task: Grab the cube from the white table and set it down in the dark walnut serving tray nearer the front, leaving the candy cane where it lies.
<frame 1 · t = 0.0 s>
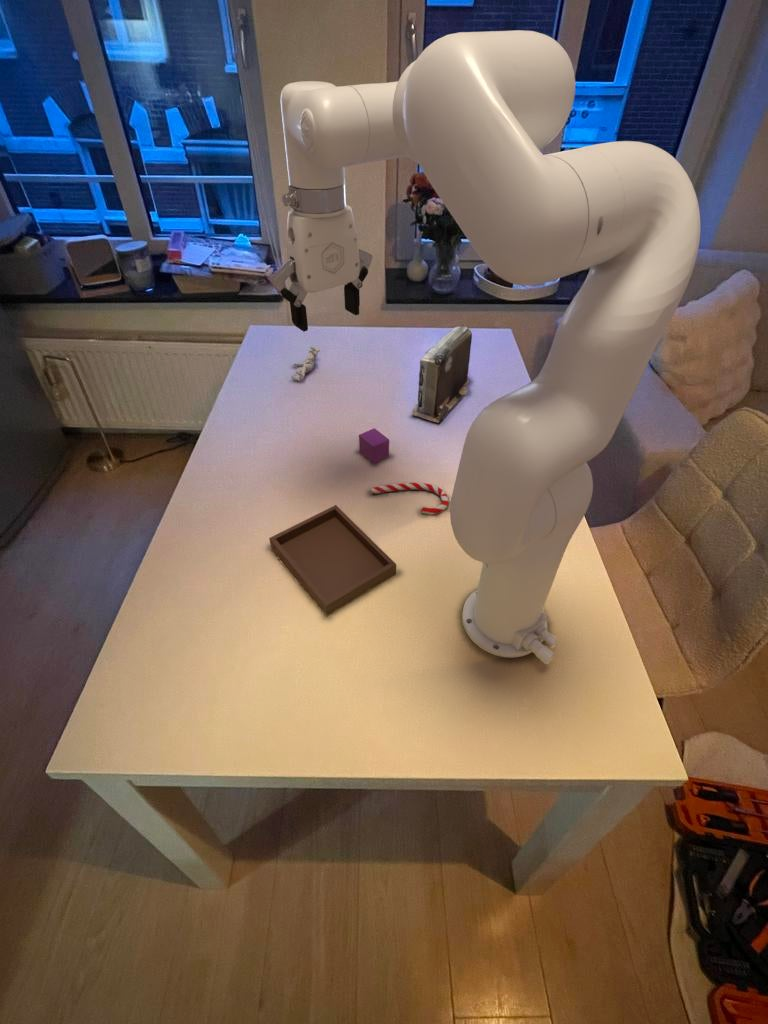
hand: (327, 320, 84), 31 cm above the table, tool pointing down, fingers open, 9 cm apart
cube: (374, 454, 109), on the table
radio: (441, 397, 125), on the table
tray: (332, 560, 89), on the table
candy cane: (408, 499, 100), on the table
soldier figure: (307, 371, 134), on the table
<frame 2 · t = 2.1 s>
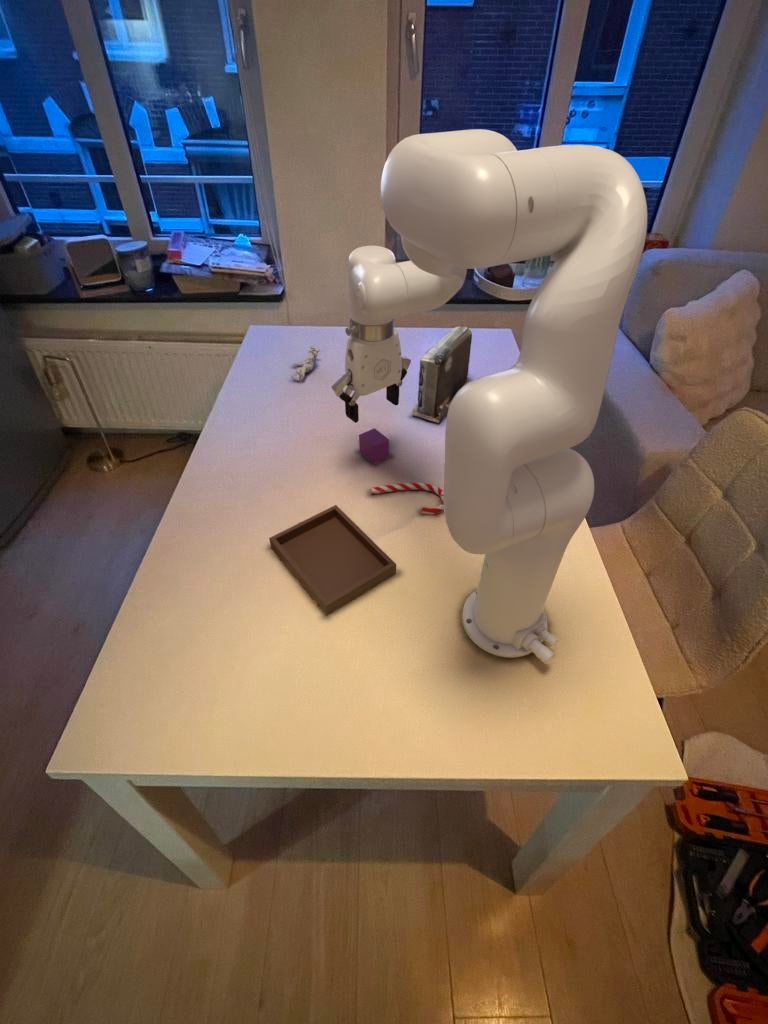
hand: (372, 410, 102), 11 cm above the table, tool pointing down, fingers open, 9 cm apart
nothing on the table moved.
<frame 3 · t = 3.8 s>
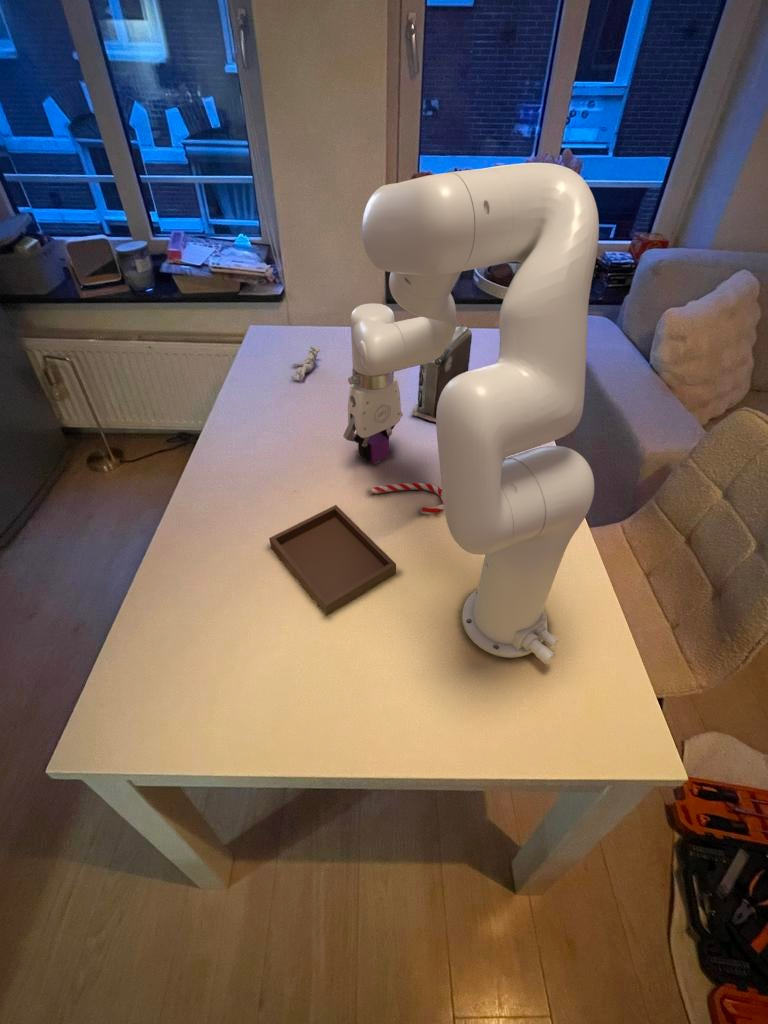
hand: (374, 453, 109), 0 cm above the table, tool pointing down, fingers closed on cube, 4 cm apart
cube: (374, 454, 109), on the table, touching gripper
everything else where it was.
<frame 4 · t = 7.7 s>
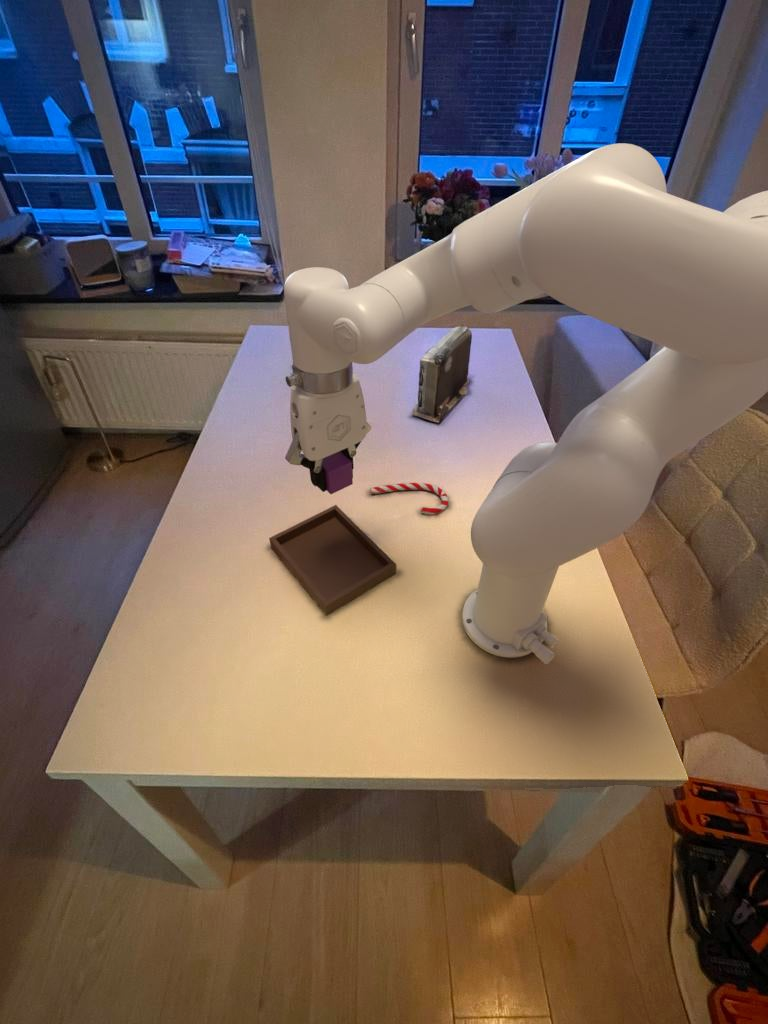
hand: (332, 479, 80), 15 cm above the table, tool pointing down, fingers closed on cube, 4 cm apart
cube: (332, 480, 81), point 15 cm above the table, touching gripper
everything else where it was.
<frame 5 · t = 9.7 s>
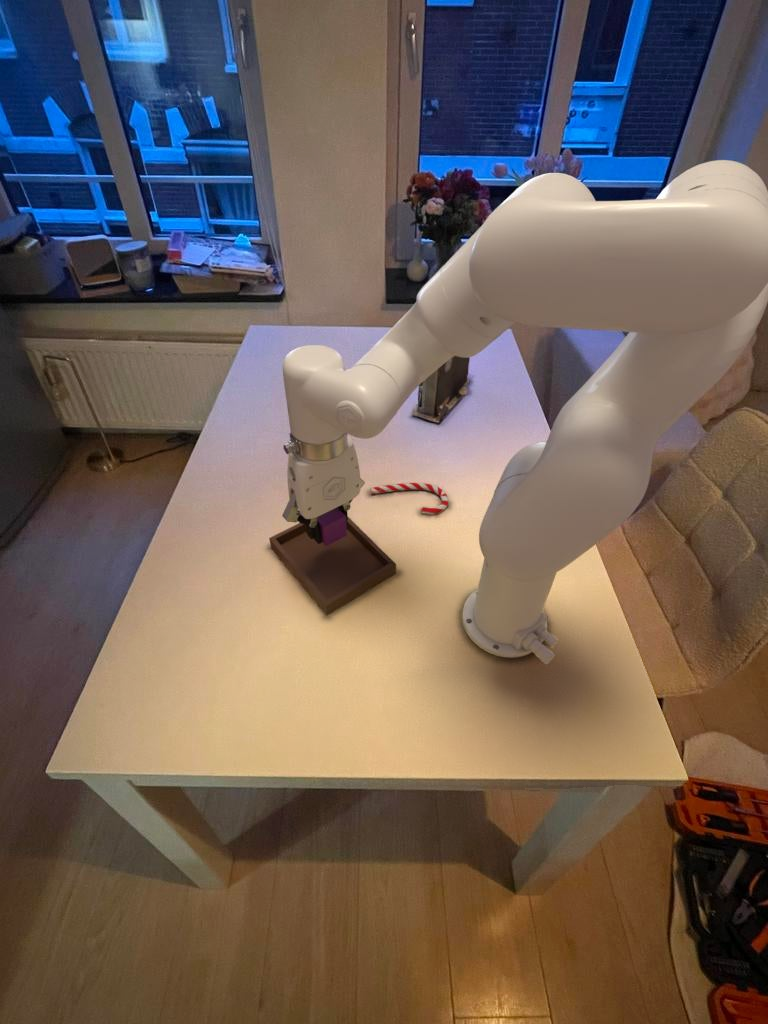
hand: (327, 530, 84), 7 cm above the table, tool pointing down, fingers closed on cube, 4 cm apart
cube: (327, 531, 84), point 7 cm above the table, touching gripper
everything else where it was.
when the fingers open (1 cm above the table, at t = 11.5 s): cube stays where it is, resting on tray.
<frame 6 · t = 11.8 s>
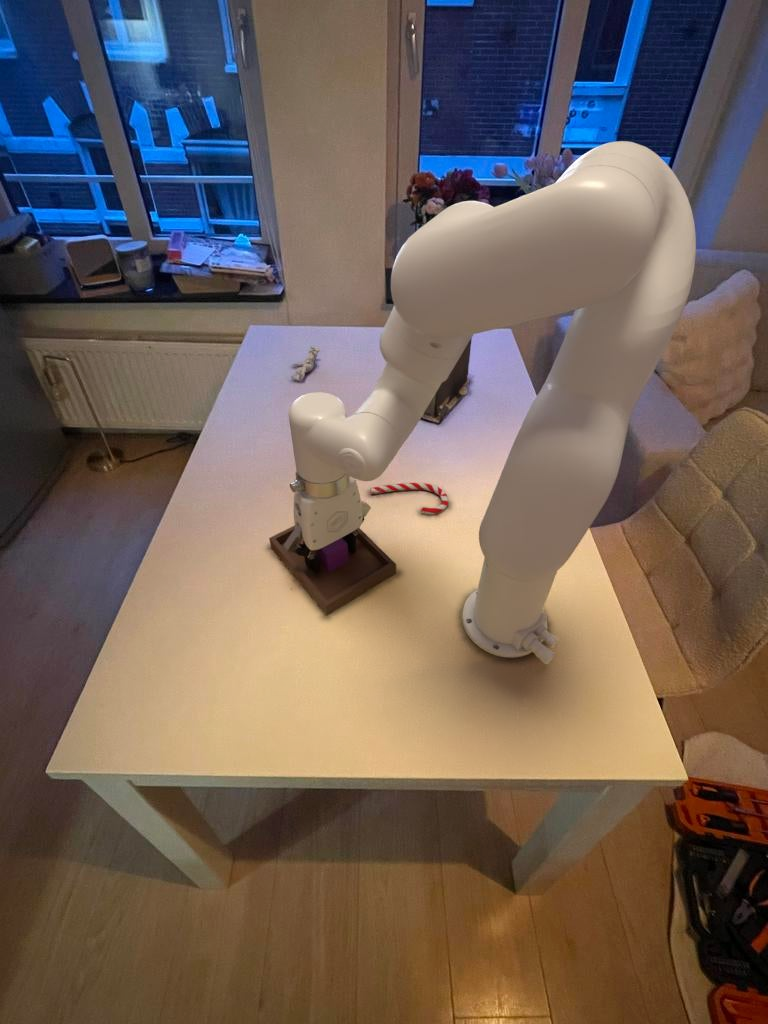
hand: (331, 557, 88), 1 cm above the table, tool pointing down, fingers open, 6 cm apart
cube: (330, 558, 88), resting on tray
everything else where it was.
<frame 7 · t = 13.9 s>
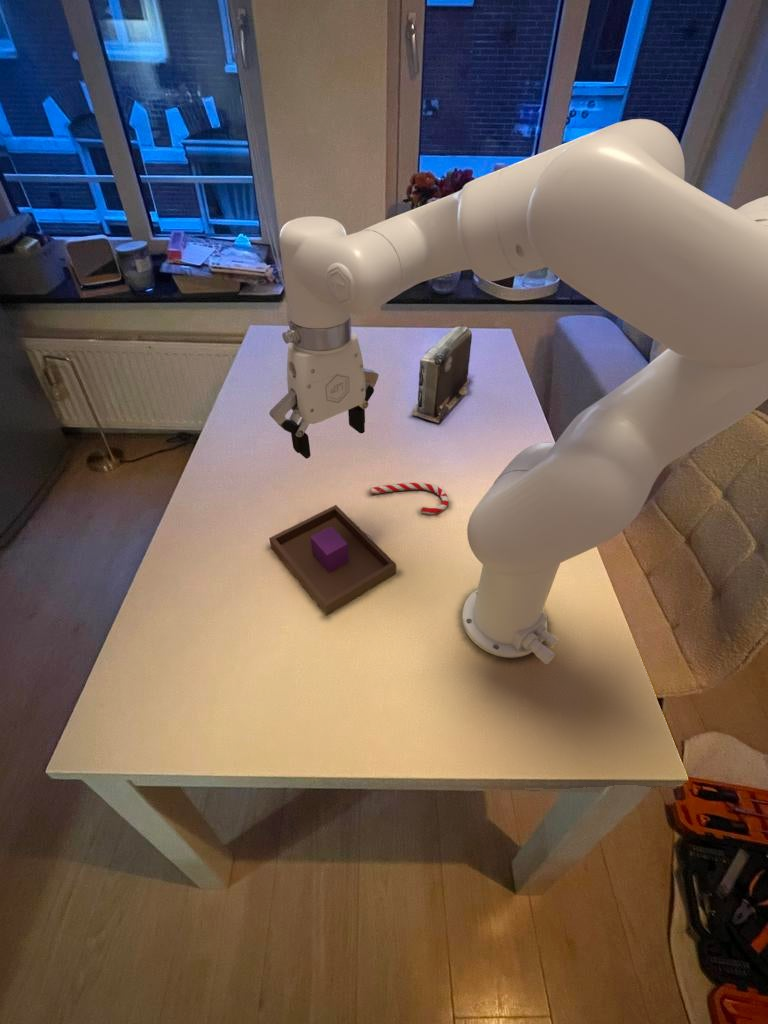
hand: (330, 440, 78), 21 cm above the table, tool pointing down, fingers open, 9 cm apart
nothing on the table moved.
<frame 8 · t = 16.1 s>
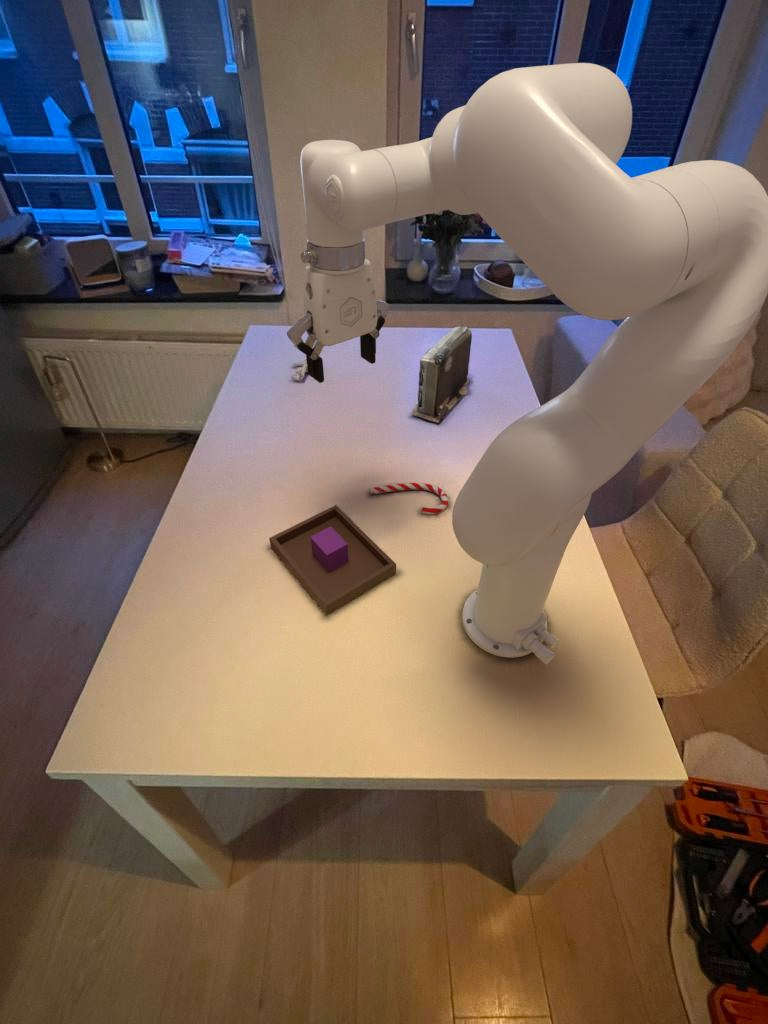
hand: (343, 369, 82), 26 cm above the table, tool pointing down, fingers open, 9 cm apart
nothing on the table moved.
at the end: cube inside the target area in the tray (0.2 cm from its centre), point 0.5 cm above the tray's base; the gripper is holding nothing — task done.
